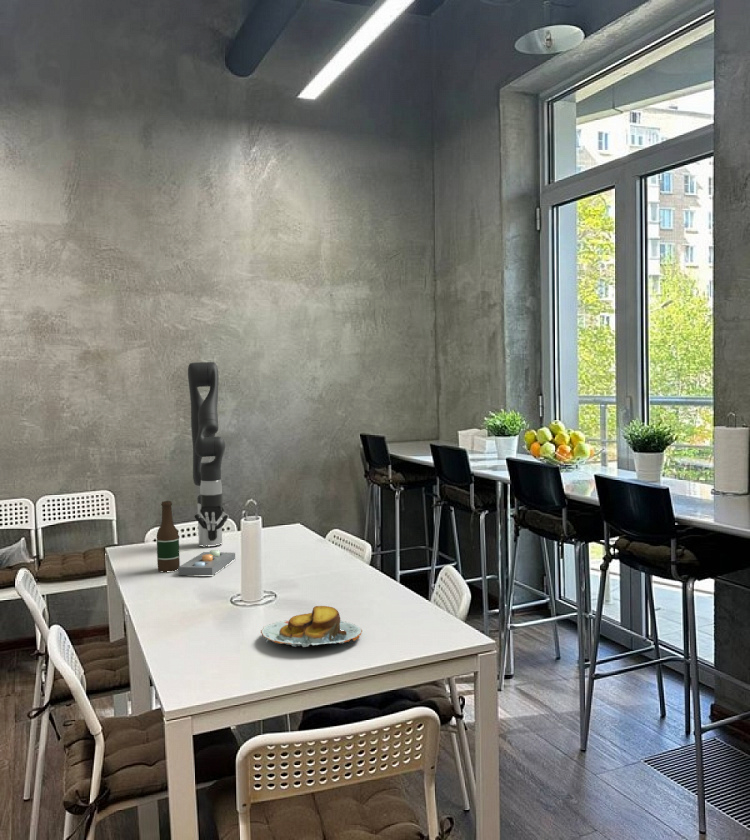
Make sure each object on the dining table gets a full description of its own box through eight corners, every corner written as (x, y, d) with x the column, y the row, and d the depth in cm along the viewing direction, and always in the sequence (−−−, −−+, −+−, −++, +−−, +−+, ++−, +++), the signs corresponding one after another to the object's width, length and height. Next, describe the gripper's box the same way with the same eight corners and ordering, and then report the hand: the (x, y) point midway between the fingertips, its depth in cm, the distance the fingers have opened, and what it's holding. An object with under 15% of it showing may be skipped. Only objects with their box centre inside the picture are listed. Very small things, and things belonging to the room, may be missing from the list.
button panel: (203, 560, 281) (203, 552, 281) (235, 560, 279) (235, 552, 279) (178, 575, 259) (178, 567, 259) (212, 576, 257) (212, 567, 257)
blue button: (196, 570, 264) (196, 561, 264) (206, 570, 263) (206, 561, 263) (192, 572, 260) (192, 564, 260) (202, 573, 260) (202, 564, 260)
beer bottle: (176, 572, 263) (174, 503, 262) (154, 572, 263) (151, 503, 262) (182, 567, 271) (180, 499, 270) (161, 567, 271) (158, 500, 270)
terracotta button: (204, 562, 271) (204, 554, 271) (214, 562, 270) (214, 554, 270) (200, 565, 267) (200, 556, 267) (210, 565, 267) (210, 556, 266)
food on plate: (244, 637, 197) (243, 612, 196) (324, 617, 212) (323, 594, 212) (297, 665, 177) (296, 637, 176) (381, 641, 192) (381, 615, 192)
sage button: (211, 558, 278) (211, 549, 277) (221, 558, 277) (221, 550, 277) (208, 560, 274) (207, 552, 274) (217, 560, 273) (217, 552, 273)
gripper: (232, 491, 276) (234, 538, 277) (198, 490, 278) (199, 537, 279) (225, 494, 269) (226, 543, 270) (189, 493, 271) (191, 542, 272)
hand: (212, 540), depth 275 cm, fingers closed
